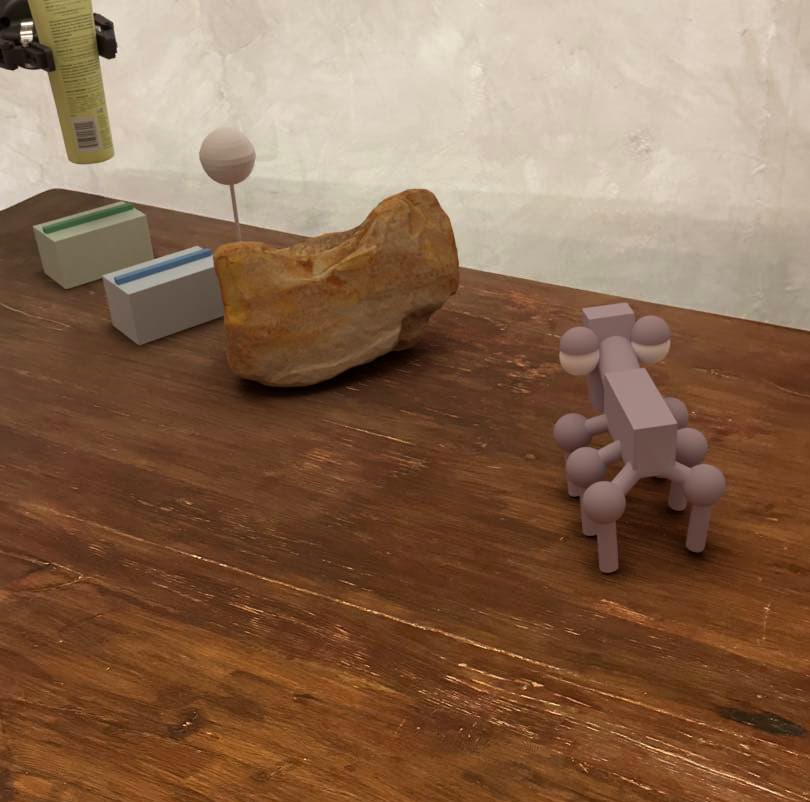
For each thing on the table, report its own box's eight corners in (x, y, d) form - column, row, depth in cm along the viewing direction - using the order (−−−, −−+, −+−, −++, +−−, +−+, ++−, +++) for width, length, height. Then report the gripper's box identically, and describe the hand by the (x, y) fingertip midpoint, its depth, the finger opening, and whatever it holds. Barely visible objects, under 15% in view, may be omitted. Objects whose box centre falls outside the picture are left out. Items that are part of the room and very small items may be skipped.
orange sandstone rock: (414, 297, 121) (399, 155, 112) (479, 350, 107) (467, 194, 99) (204, 350, 115) (171, 204, 107) (245, 413, 101) (212, 253, 93)
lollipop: (279, 257, 129) (263, 124, 120) (248, 276, 125) (229, 140, 116) (236, 248, 132) (217, 117, 123) (205, 267, 128) (183, 133, 119)
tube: (78, 149, 123) (36, -49, 112) (123, 148, 123) (86, -50, 111) (61, 167, 119) (15, -38, 107) (108, 166, 118) (67, -39, 107)
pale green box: (65, 289, 124) (52, 236, 121) (44, 273, 128) (31, 220, 125) (155, 261, 130) (145, 209, 126) (131, 246, 133) (121, 195, 130)
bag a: (139, 346, 113) (126, 288, 109) (112, 325, 117) (100, 269, 113) (233, 312, 118) (225, 256, 114) (205, 294, 122) (196, 239, 118)
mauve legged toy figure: (526, 434, 96) (530, 286, 88) (648, 422, 97) (663, 274, 89) (581, 580, 80) (592, 416, 72) (726, 565, 81) (753, 401, 73)
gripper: (-59, 0, 118) (3, 27, 107) (69, -23, 124) (139, 1, 114) (-39, 75, 122) (22, 108, 111) (84, 49, 129) (152, 78, 118)
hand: (81, 54), depth 113 cm, fingers closed on tube, 6 cm apart
